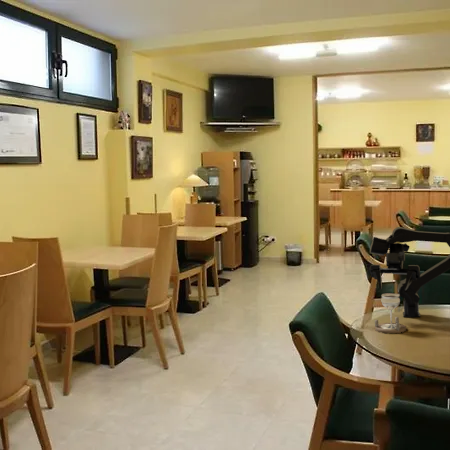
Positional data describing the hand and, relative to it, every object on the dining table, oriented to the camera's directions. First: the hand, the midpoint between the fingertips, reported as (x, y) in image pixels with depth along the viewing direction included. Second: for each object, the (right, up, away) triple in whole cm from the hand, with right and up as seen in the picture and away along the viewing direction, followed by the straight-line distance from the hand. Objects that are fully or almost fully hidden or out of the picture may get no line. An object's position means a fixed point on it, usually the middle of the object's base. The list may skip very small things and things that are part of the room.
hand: (392, 289), depth 217 cm
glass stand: (-3, -14, -6) cm, 16 cm away
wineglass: (-2, -13, -6) cm, 15 cm away
